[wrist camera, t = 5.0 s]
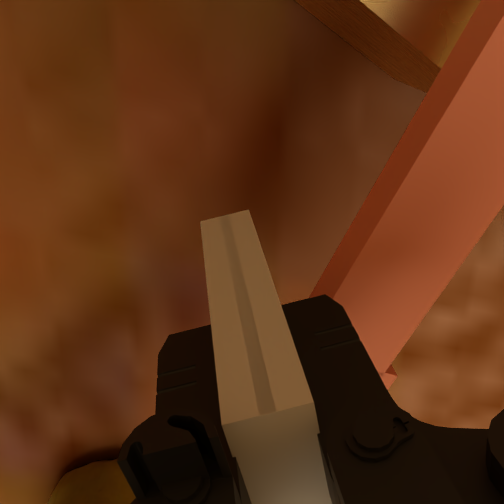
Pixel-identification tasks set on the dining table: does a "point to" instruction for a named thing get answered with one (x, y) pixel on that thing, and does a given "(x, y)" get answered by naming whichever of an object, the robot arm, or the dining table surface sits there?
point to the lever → (427, 198)
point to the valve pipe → (398, 32)
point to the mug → (93, 485)
